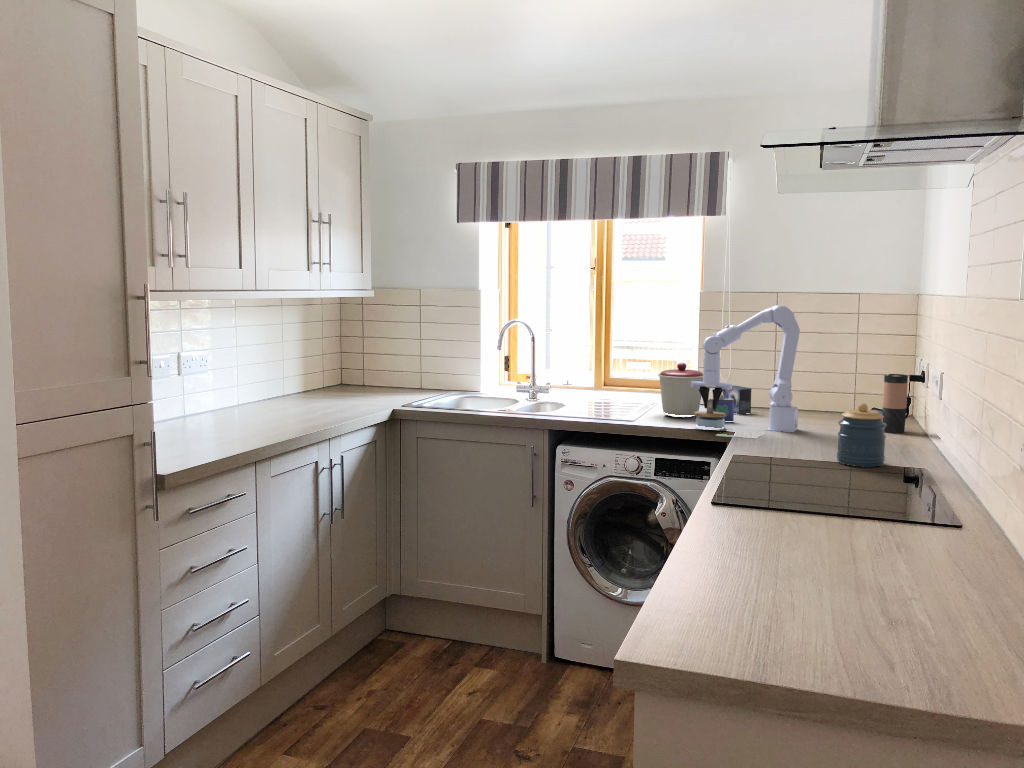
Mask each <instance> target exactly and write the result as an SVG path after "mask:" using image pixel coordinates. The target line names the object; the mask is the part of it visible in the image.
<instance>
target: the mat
mask: <svg viewBox="0 0 1024 768" xmlns="http://www.w3.org/2000/svg"><path fill="white" fill-rule="evenodd" d="M715 436H716V437H717V436H718V437H727V438H734V437H733V435H727V434H719V433H717V434H715Z"/></svg>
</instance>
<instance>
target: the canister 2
mask: <svg viewBox="0 0 1024 768" xmlns="http://www.w3.org/2000/svg"><path fill="white" fill-rule="evenodd" d="M868 408H869V407H868V405H867V403H864V402H862V403H859V404H858V405H857V408H855V409H854V408H852V409H847V410H846V411H845V412H842V414H841V416H842V419H841V420H839V421H838V422H837V423H838V425H839V430H838V432H837V453H836V458H837V459H836V460H837V462H838V461H839V462H841V463H844V464H849V465H855V466H864V467H863V468H877V467H876V466H880V467H882V466H884V463H885V461H886V459H885V458H886V456H885V449H886V448H885V447H886V438H887V435H886V434H885V432H884V428H885V427H886V426H887V425H886V423H884V422H883V421H882V418H884V416H883V415H882V414H881V413H880V412H879V411H878V410H873V409H868ZM839 462H838V463H839ZM841 463H840V464H841ZM844 464H843V465H844ZM873 466H874V467H873Z"/></svg>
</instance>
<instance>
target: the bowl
mask: <svg viewBox="0 0 1024 768" xmlns="http://www.w3.org/2000/svg"><path fill="white" fill-rule="evenodd" d="M695 417H696V418H695V425H696V424H697V425H698V426H705V427H714V428H722V427H724V428H725V424H726V423H725V418H723V417H702V416H695Z"/></svg>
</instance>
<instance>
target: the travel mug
mask: <svg viewBox="0 0 1024 768" xmlns="http://www.w3.org/2000/svg"><path fill="white" fill-rule="evenodd" d="M883 377H884V378H883V390H882V391H883V394H882V395H883V396H882V412H881V413H882V414H881V415H883V416H884V418H882V420H883V421H884V423H886V425H887V426H886V427H885V428H884V433H886V434H887V433H888V434H895V433H899V434H904V433H905V429H906V417H907V416H906V415H907V408H908V407H907V403H908V378H909V376H908V375H907V374H901V373H888V375H886V374H884V375H883Z"/></svg>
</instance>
